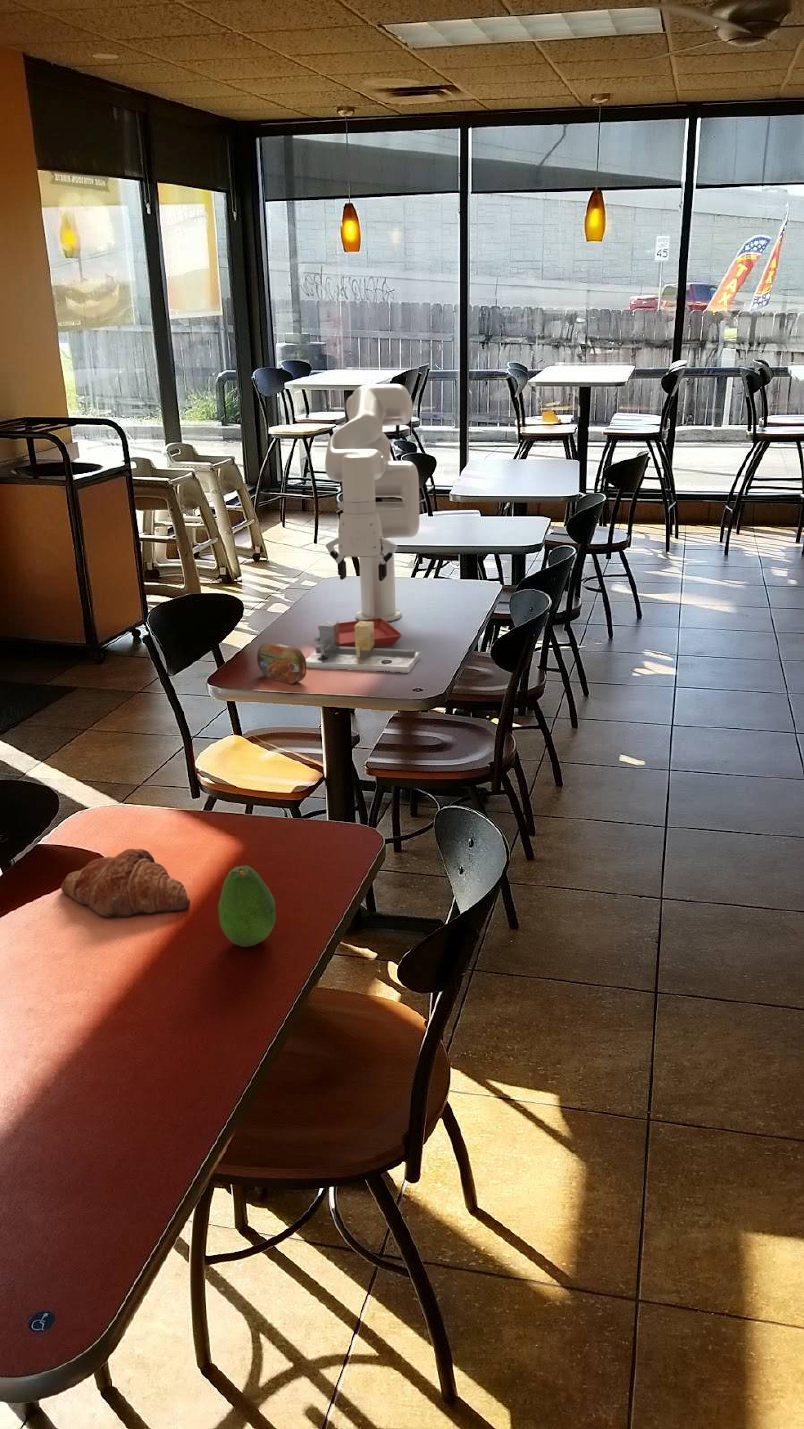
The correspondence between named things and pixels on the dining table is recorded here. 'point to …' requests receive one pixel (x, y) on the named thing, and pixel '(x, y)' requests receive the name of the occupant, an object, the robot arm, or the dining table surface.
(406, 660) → the hole plate
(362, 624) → the tan stemmed block
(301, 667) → the tin
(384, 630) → the plant saucer
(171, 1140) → the dining table surface
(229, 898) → the avocado
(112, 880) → the pastry
